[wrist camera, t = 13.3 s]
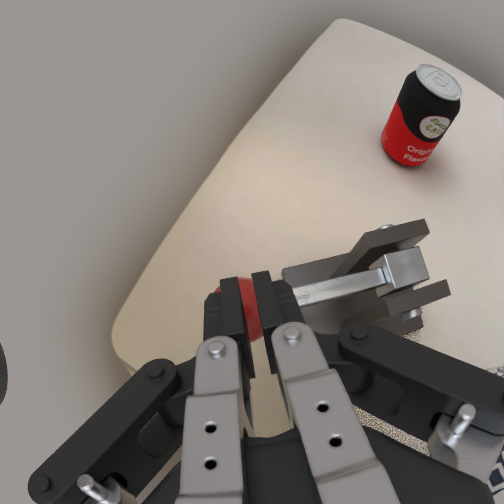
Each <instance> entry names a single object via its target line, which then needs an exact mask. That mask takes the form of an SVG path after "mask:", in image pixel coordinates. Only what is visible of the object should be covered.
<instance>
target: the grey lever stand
mask: <svg viewBox="0 0 504 504" xmlns="http://www.w3.org/2000/svg"><path fill="white" fill-rule="evenodd" d="M429 233H430V232H429V229H428V227H427V224H426V222H425V219H421V220H416V221H412V222H408V223H404V224H400V225H395V226H393V225H392V224H390V225H385V226H382V227H380V228H378V229H377V230H374V231H370V232H366V233H364V234H363V236H362V237H361V238H360V240H359V241H358V242H357V244H356V245H355V246H354V248H353V249H352V250H351V251H350V253H346V254H342V255H338V256H334V257H330V258H326V259H322V260H318V261H314V262H309V263H305V264H301V265H297V266H293V267H289V268H284V269H282V276H283V280H285V281H286V282H287V283H289V284H290V285H291V287H292V288H295V287H299V286H304V285H308V284H312V283H317V282H321V281H325V280H329V279H334V278H338V277H342V276H346V275H350V274H354V273H358V272H362V271H366V270H370V269H369V266H370V265H371V264H372V263H373V262H375V261H376V260H377V259H379V258H380V257H381V256H382V255H384V254H387V253H391V252H395V251H399V250H404V249H408V248H412V247H414V246H415V245H416V244H417V243H418V242H420V241H421V240H422V239H423V238H424V237H426V236H427V235H428V234H429ZM449 295H451V293H450V290H449V286H448V283H447V280H446V279H445V280H442V281H439V282H436V283H434V284H431V285H428V286H425V287H422V288H419V289H416V290H413V287H412V288H410V289H407V290H403V291H400V292H397V293H394V294H390V295H387V296H384V297H381V298H378V296H377V292H376V289H373V290H369V291H366V292H362V293H359V294H355V295H351V296H347V297H344V298H340V299H336V300H332V301H328V302H324V303H320V304H316V305H312V306H308V307H304V308H300V310H301V312H302V315H303V317H304V320H305V323H306V325H308V326H309V327H310V328H311V329H312V330H313V331H315V332H317V333H321V334H339V331H340V330H341V328H342V327H344V326H345V325H347V324H349V323H352V322H360V321H361V322H367V323H370V324H373V325H375V326H377V327H380V328H382V329H385V330H387V331H389V332H392V333H394V334H397V335H399V336H402V335H404V334H407V333H410V332H412V331H415V330H418V329H420V328H423V327H424V326H423V322H422V318H421V314H422V310H421V306H423V305H426V304H429V303H431V302H434V301H436V300H439V299H441V298H444V297H446V296H449Z"/></svg>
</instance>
